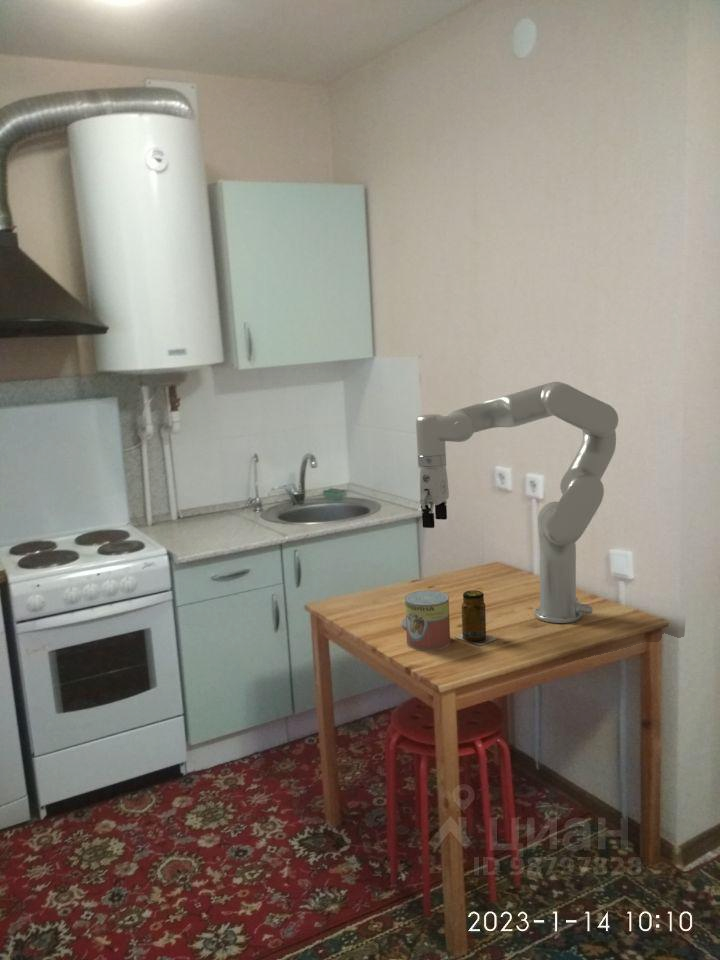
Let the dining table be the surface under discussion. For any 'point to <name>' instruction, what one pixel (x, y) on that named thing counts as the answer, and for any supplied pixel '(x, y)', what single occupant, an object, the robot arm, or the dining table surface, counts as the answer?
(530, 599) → the dining table surface
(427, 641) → the canned food
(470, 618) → the condiment
